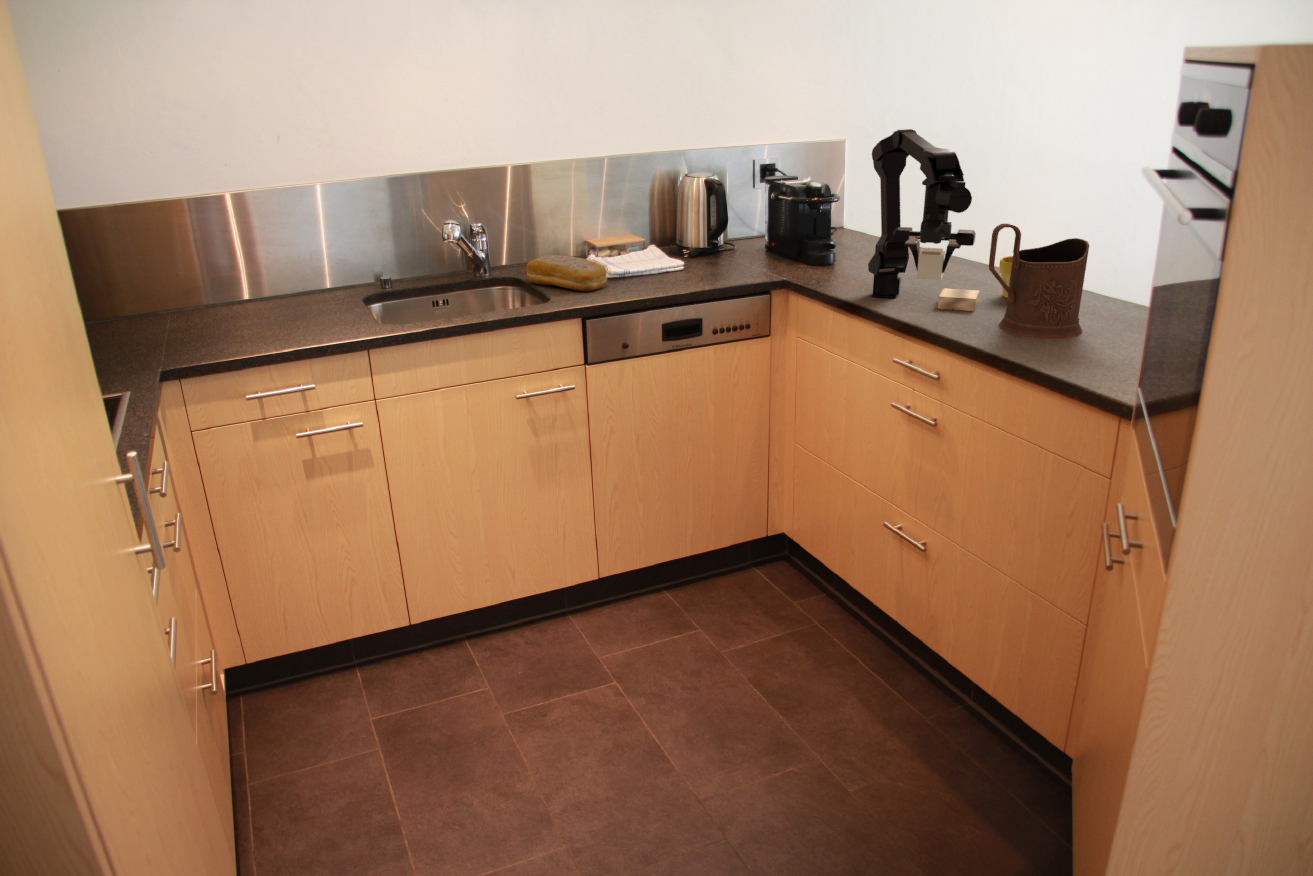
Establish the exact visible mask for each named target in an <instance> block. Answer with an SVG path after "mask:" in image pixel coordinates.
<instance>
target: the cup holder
mask: <svg viewBox="0 0 1313 876" xmlns="http://www.w3.org/2000/svg"><path fill="white" fill-rule="evenodd" d="M1004 228H1011V229H1012V230H1013V231H1014V235H1015V237H1014V244H1013V251H1012V253H1013V255H1012V256H1013V259H1012V267H1011V275H1010V283H1009V287H1008V286H1007V284H1006V283H1005V282H1004V281H1003V279H1002V277H1001V276H1000V274H999V272H998V271H997V270H996V269H995V261H996V253H997V244H998V239H999V238H998V237H999V233H1000V231H1002V230H1003V229H1004ZM1019 228H1020V227H1018V226H1016V225H1013V224H1011V223H1000V224H999V225H996V226H995V228H994V229H993V230H992V234H991V242H990V249H989V250H990V251H989V257H988V258H989V259H988V270H989V271H990V272H991V274H992V275H993V276H994V278H995V279H996V280H997V281H998V283H999V284H1000V285H1001V286H1003V288H1004V289H1005V290H1006V291H1007V293H1008V298H1006V299H1007V300H1006V308H1005V313H1004V314H1003V318H1002V319H1001V321H1000V322H999V323H998V325H997V326H998V328H999V329H1000V330H1001V331H1003V332H1004V333H1007V334H1009V335H1014V336H1015V337H1016V336H1017V337H1020V338H1026V339H1034V340H1035V339H1036V340H1047V341H1048V340H1049V341H1050V340H1054V341H1055V340H1057V341H1058V340H1067V339H1073V338H1077V337H1079V336H1081V335H1082V334H1083V329H1082V327H1081V324H1080V318H1079V316H1080V307H1081V301H1082V296H1083V295H1082V294H1083V291H1084V290H1083V288H1084V283H1085V276H1086V275H1085V274H1086V270H1087V262H1088V258H1089V250H1090V244H1089V241H1088V240H1085V239H1083V238H1076V237H1074V238H1066V239H1063V240H1061V241H1058V242H1054V243H1052V244H1049V245H1045V246H1040V247H1033V248H1026V249H1025V248H1024V249H1020V248H1021V239H1022V231H1021V230H1020V229H1019Z"/></svg>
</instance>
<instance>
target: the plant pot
mask: <svg viewBox="0 0 1313 876" xmlns="http://www.w3.org/2000/svg"><path fill="white" fill-rule="evenodd" d="M1012 259H1013V255H1010V256H1009V255H1008V256H1004V257H1001V258H1000V260H999V267H998V268H999V269H998V273H1000V274H1001V276H1000V277H1001V278H1002V279H1003V281H1004V282H1005V283H1006V284H1007V286H1008V287H1009V283H1010V275H1011V267H1012ZM1001 286H1002V285H1001ZM1001 288H1002V295H1003V297H1004V298H1006V299H1008V293H1007V291H1006V290H1005V289H1004V288H1003V286H1002V287H1001Z"/></svg>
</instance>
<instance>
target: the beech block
mask: <svg viewBox="0 0 1313 876" xmlns="http://www.w3.org/2000/svg"><path fill="white" fill-rule="evenodd" d="M980 292H981V291H980V290H977V289H975V290H974V289H961V288H960V289H959V288H946V287H944V288H943V289H942V291H941V292H940V294H939V295H938V302H937V303H938V304H937V309H942V310H952V309H954V311H955V310H956V311H967V312H976V309H977V307H978V304H979V302H980V301H979V300H980Z"/></svg>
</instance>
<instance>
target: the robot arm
mask: <svg viewBox="0 0 1313 876" xmlns="http://www.w3.org/2000/svg"><path fill="white" fill-rule="evenodd" d="M909 156H911V158H913V159H914V160H915V161H917V162H918V163H919V166H920V167H919V170H920V171H921V172H922V174H924V176H925V179H924V180H923V181H922V182H921V185H922V186H925V191H924V203H923V213H922V215H923V216H922V220H921V223H920V230H919V231H915V230H914V231H913V227H909V226H908V227H907V226H905V227H904V226H901V181H900V180H901V175H902V173H903V172H904V170H905V169H906V165H907V158H908V157H909ZM871 159H872V163H873V168H874V170H875V173H876V174H877V175H878V177H879V180H880V181H879V182H880V221H881V223H880V225H881V228H880V231H881V235H880V236H879V239H878V240H877V242H876V244H875V250H874V254H873V256H872V258H871V259H870V260H869V262H868V263H867V267H868V273H870V274H873V284H872V292H871V295H870V296H871V297H874V298H885V299H887V298H888V299H889V298H890V299H896V298H897V296H898V295H899V294H900V293H901V284H902V276H901V277H900V274H901V273H902V274H903V273H904V274H905V273H906V271H907V267H908V263H909V260H910V253H909V249H910V252H911V255H912V256H913V260H914V265H915V269H916V272H917V271H918V259H919V253H920V252H921V248H920V247H921V244H920V243H922V244H927V243H928V244H929V243H931V244H934V245H935V244H941V242H942V241H948V244H947V246H946V249H945V251H946V252H945V259H944V263H943V270H942V273H943V274H944V273H945V272H946V269H947V266H948V264H949V262H950V261H951V260H950V259H951V258H952V255H953V253H954V252H955V250H956V249H958V250H959V249H960V248H961V247H962V246H966V247H967V246H970V247H973V246H974V244H975V242H976V234H977V233H976V232H975V230H974V229H958V230H957V232H952V222H951V221H948V220H949V211H950V212H953V213H957V214H961V213H963V212H966V211H967V210H968V209H969V208H970V207H971V204H972V201H973V197H972V193H971V191H970V189H968V188H967V187H966V181H965V178H964V172H963V170H962V167H961V164H960V160H959V158H958V155H957V153H956V152H955V151H953V150H951V149H947V148H940V147H936V146H935V145H933V144H932V143H931V142H929V141H927V140H926V139H925V138H923V137H922V136H921V135H919V134H918V133H917V131H916V130H913V128H910V129H909V128H908V129H907V128H906V129H905V128H904V129H896V131H894V132H893V133H892V134H891V135H889V136H887V137H885V138H883V139H881V140H880V141H878V142H877V143H876V144H875V146H874V147H873V148H872V151H871Z"/></svg>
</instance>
